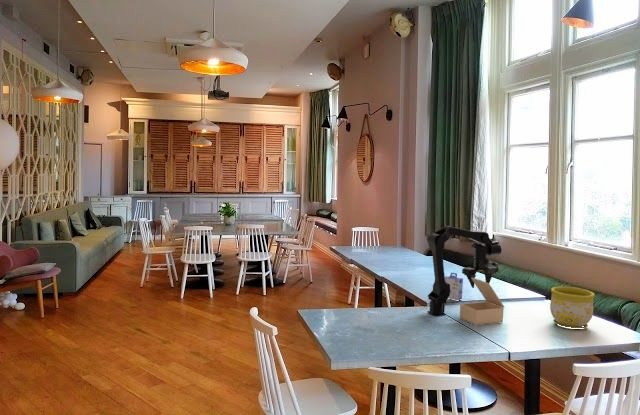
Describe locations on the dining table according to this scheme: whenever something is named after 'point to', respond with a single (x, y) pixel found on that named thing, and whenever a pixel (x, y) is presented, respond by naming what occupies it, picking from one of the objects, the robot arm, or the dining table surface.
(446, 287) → the robot arm
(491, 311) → the carton
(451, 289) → the ink cartridge box
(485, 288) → the carton lid
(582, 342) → the dining table surface
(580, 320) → the flowerpot
